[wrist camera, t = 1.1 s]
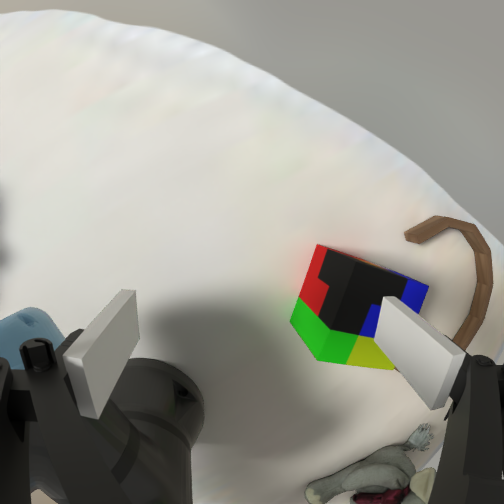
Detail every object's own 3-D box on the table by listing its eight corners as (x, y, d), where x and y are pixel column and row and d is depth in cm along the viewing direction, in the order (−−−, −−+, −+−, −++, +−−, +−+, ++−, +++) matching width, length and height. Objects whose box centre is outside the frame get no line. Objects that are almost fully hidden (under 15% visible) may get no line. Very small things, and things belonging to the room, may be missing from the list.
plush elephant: (346, 509, 50) (377, 570, 29) (296, 486, 44) (328, 570, 24) (438, 440, 50) (487, 492, 30) (412, 401, 45) (480, 469, 24)
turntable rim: (457, 359, 44) (467, 366, 41) (370, 372, 41) (380, 382, 38) (490, 230, 40) (502, 232, 38) (407, 208, 37) (420, 210, 34)
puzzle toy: (381, 265, 38) (429, 286, 28) (355, 334, 39) (393, 370, 30) (316, 243, 36) (355, 261, 26) (289, 321, 37) (317, 360, 28)
